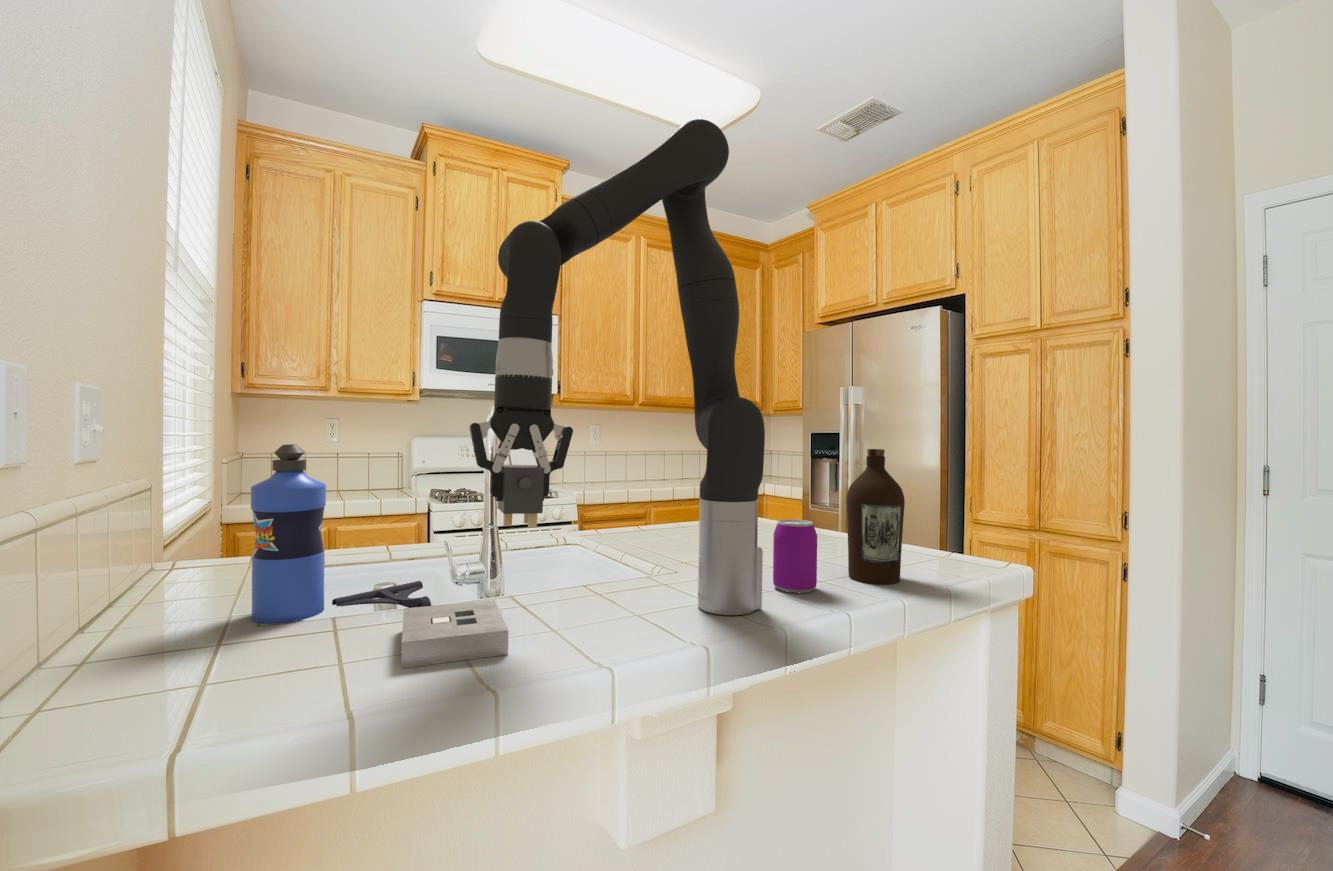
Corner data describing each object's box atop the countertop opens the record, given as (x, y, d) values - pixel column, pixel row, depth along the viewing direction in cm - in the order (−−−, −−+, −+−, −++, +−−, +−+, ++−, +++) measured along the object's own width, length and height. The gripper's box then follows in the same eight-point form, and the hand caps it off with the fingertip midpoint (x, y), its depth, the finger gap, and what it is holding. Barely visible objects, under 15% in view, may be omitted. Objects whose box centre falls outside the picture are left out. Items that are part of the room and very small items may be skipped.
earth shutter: (448, 622, 78) (448, 616, 78) (449, 627, 76) (449, 621, 76) (432, 624, 77) (432, 618, 77) (432, 629, 75) (432, 623, 75)
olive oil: (839, 571, 120) (841, 448, 120) (892, 572, 120) (894, 448, 119) (853, 584, 109) (855, 449, 109) (911, 586, 109) (914, 450, 109)
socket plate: (494, 620, 86) (494, 599, 86) (508, 654, 73) (508, 630, 73) (403, 630, 81) (403, 608, 81) (401, 668, 68) (401, 642, 68)
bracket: (380, 628, 84) (381, 609, 84) (331, 608, 93) (332, 590, 93) (468, 606, 95) (469, 589, 95) (417, 590, 104) (418, 574, 104)
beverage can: (796, 596, 101) (797, 526, 101) (763, 587, 107) (764, 520, 107) (825, 590, 105) (826, 522, 105) (792, 581, 111) (793, 517, 111)
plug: (533, 521, 84) (535, 465, 84) (543, 530, 77) (546, 468, 77) (496, 521, 82) (499, 464, 82) (504, 531, 75) (506, 468, 75)
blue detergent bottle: (269, 628, 81) (270, 446, 81) (238, 615, 86) (238, 444, 86) (337, 610, 89) (338, 445, 89) (305, 600, 94) (306, 443, 94)
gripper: (569, 381, 87) (565, 497, 87) (466, 373, 81) (461, 497, 81) (582, 377, 80) (577, 503, 80) (471, 368, 74) (465, 504, 74)
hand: (519, 499), depth 80 cm, fingers closed on plug, 5 cm apart
